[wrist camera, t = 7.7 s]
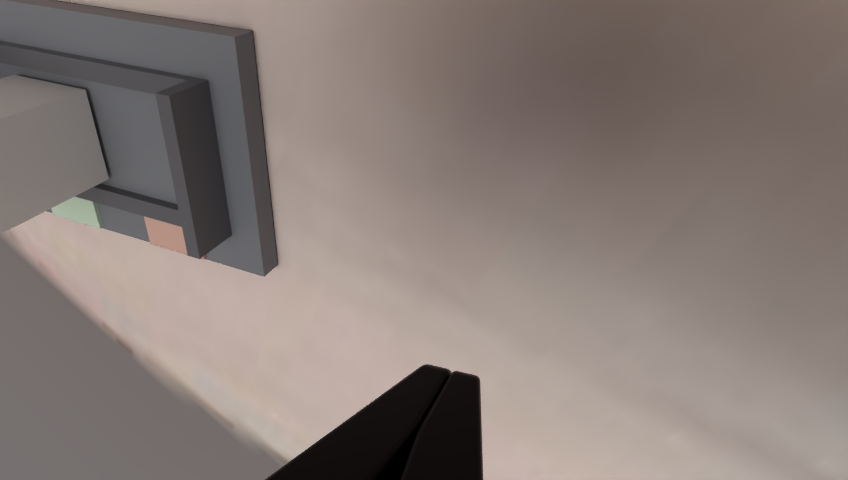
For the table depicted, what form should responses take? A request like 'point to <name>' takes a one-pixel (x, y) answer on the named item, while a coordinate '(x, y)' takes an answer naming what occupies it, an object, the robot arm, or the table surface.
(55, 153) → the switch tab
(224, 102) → the switch board
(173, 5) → the table surface
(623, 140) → the table surface
